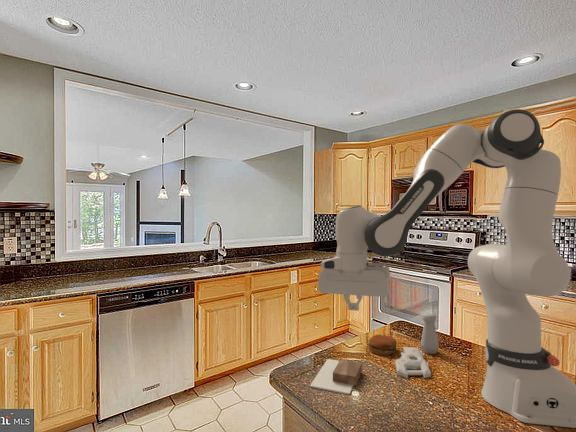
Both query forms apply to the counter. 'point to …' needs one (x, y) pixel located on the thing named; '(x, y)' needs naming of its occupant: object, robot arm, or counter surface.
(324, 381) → the mat
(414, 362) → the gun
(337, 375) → the block
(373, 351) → the burger
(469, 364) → the counter surface
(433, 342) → the salt shaker
